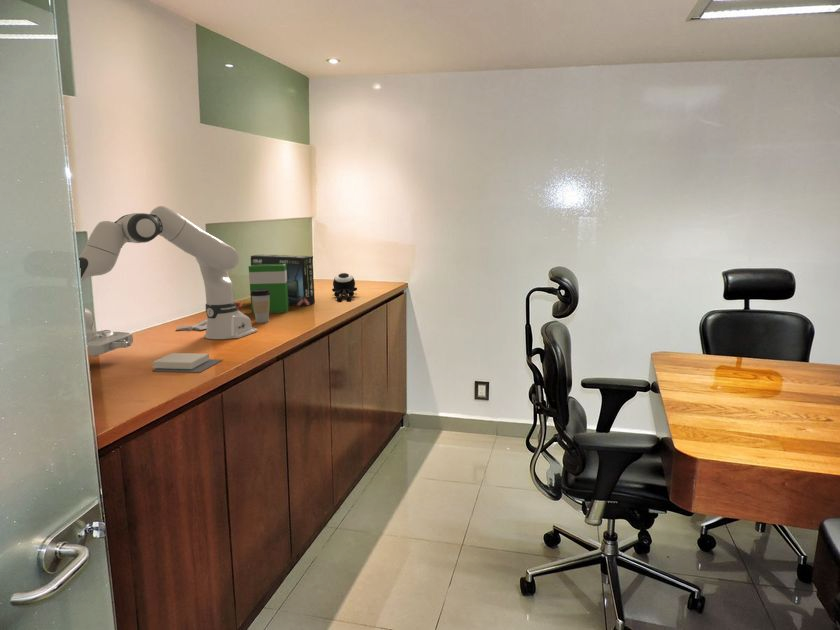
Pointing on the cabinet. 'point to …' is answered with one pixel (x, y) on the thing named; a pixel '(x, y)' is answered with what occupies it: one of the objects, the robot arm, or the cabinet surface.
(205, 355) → the ceramic tile
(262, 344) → the cabinet surface
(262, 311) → the coffee cup
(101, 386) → the cabinet surface
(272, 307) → the green cereal box
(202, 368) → the rubber mat
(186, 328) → the driftwood branch
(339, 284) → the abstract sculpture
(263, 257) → the router box
